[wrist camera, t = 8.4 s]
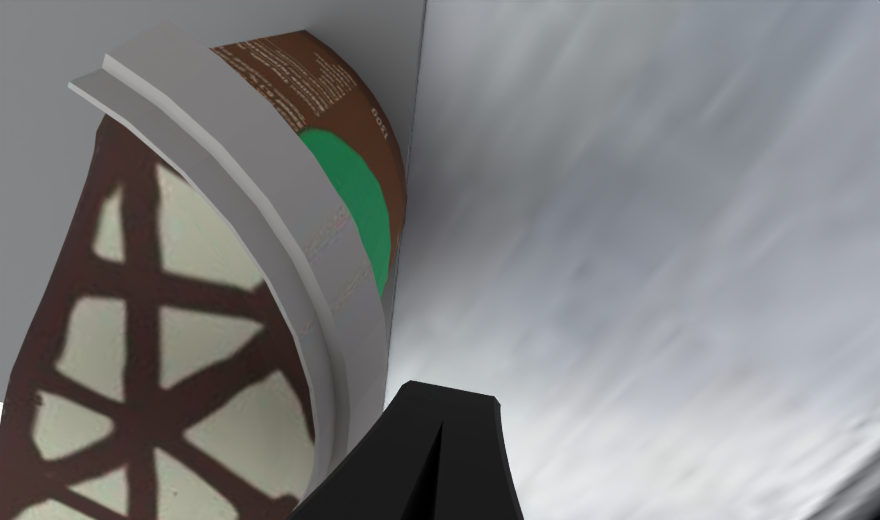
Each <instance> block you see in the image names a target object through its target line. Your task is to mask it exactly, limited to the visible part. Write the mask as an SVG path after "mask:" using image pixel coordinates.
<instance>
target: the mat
mask: <svg viewBox="0 0 880 520" xmlns="http://www.w3.org/2000/svg"><path fill="white" fill-rule="evenodd" d="M425 7H426V0H0V402H3V403H4V399H5V395H6V391H7V386H8V382H9V378H10V373H11V371H12V368H13V366H14V363H15V361H16V359H17V356H18V354H19V351H20V349H21V346H22V344H23V341H24V339H25V336H26V334H27V331H28V329H29V327H30V324H31V322H32V320H33V317H34V315H35V313H36V311H37V308H38V306H39V304H40V301H41V299H42V297H43V295H44V292H45V290H46V287H47V285H48V282H49V280H50V277H51V274H52V272H53V269H54V267H55V264H56V262H57V259H58V256H59V254H60V251H61V249H62V246H63V244H64V241H65V238H66V236H67V233H68V230H69V227H70V224H71V221H72V219H73V216H74V213H75V210H76V207H77V204H78V202H79V199H80V196H81V193H82V190H83V187H84V185H85V182H86V179H87V175H88V171H89V168H90V164H91V160H92V157H93V153H94V147H95V138H96V131H97V129H98V127H99V125H100V123H101V121H102V119H103V117H104V115H105V112H104V111H102V110H101V109H99V108H98V107H96V106H95V105H93V104H92V103H90V102H89V101H87V100H86V99H85V98H83V97H82V96H80V95H79V94H77V93H76V92H74V91H73V90H71V89H70V88H68V84H69V81H71V80H74V79H76V78H79V77H81V76H84V75H86V74H89V73H91V72H93V71H96V70H98V69H101V68H102V65H103V61H104V58H105V54H106V53H107V52H109V51H110V50H112V49H114V48H116V47H118V46H119V45H121V44H123V43H125V42H127V41H129V40H130V39H132V38H134V37H136V36H138V35H139V34H141V33H143V32H145V31H147V30H148V29H150V28H152V27H154V26H156V25H157V24H159V23H161V22H163V21H165V20H166V19H168V20H169V21H170V22H172V23H173V24H175V25H176V26H177V27H179V28H180V29H182V30H183V31H185V32H186V33H187V34H189V35H190V36H192V37H193V38H194V39H196V40H197V41H199V42H200V43H201V44H203V45H204V46H206V47H207V48H212V47H218V46H223V45H228V44H233V43H238V42H243V41H248V40H253V39H258V38H263V37H268V36H274V35H279V34H284V33H289V32H294V31H299V30H304V29H305V30H306V31H308V32H309V33H310V34H312V35H313V36H315V37H316V38H317V39H319V40H320V41H322V42H323V43H324V44H326V45H327V46H329V47H330V48H331V49H333V50H334V51H335V52H336V53H337V54H338V55H339V56H340V57H341V58H342V59H343V60H344V61H345V62H346V63H347V64H348V65H349V66H350V67H352V68H353V69H354V70H355V72H356V73H357V74H358V75H359V77H360V78H361V79H362V80H363V82H364V83H365V84H366V85H367V87H368V88H369V89H370V91H371V92H372V93H373V94H374V96H375V98H376V99H377V101H378V103H379V105H380V106H381V108H382V110H383V111H384V113H385V115H386V117H387V118H388V120H389V122H390V125H391V127H392V130H393V132H394V135H395V137H396V140H397V142H398V145H399V148H400V152H401V157H402V161H403V165H404V169H405V177H406V185H407V176H408V166H409V157H410V148H411V138H412V129H413V120H414V110H415V101H416V92H417V82H418V73H419V63H420V54H421V45H422V35H423V26H424V17H425ZM400 241H401V236H400V240H399V243H398V247H397V250H396V253H395V256H394V259H393V262H392V266H391V269H390V272H389V275H388V278H387V282H386V285H385V288H384V291H383V294H382V298H381V304H382V308H383V312H384V317H385V330H386V343H387V356H388V354H389V344H390V335H391V325H392V316H393V307H394V297H395V288H396V279H397V269H398V260H399V251H400ZM381 415H382V413H381Z"/></svg>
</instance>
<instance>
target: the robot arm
mask: <svg viewBox="0 0 880 520" xmlns="http://www.w3.org/2000/svg"><path fill="white" fill-rule="evenodd" d="M500 406H501V405H500V403H499V402H498V401H497V399H496V398H495V397H494V396H489V395H484V394H479V393H474V392H469V391H464V390H458V389H453V388H448V387H443V386H438V385H433V384H427V383H422V382H417V381H412V380H410V381H408V382H407V383H405V384H403V385H402V386H401V388H400V389H399V391H398V392H397V394H396V396H395V397H394V398H393V400H392V401H391V403H390V404H389V406H388V407H387V408H386V410H385V411H384V412H383V414H382V415H381V416H380V417H379V419H378V420H377V421H376V422H375V424H374V425H373V426H372V427H371V429H370V430H369V431H368V432H367V433H366V435H365V436H364V437H363V438H362V440H361V441H360V442H359V443H358V444H357V445H356V446H355V447H354V448H353V450H352V451H351V452H350V453H349V454H348V455H347V456H346V457H345V458H344V460H343V461H342V462H341V463H340V464H339V465H338V466H337V467H336V469H335V470H334V471H333V472H332V473H331V474H330V475H329V476H328V477H327V478H326V479H325V480H324V481H323V482H322V483H321V484H320V485H319V486H318V487H317V488H316V489H315V490H314V491H313V492H312V493H311V494H310V495H309V496H308V497H307V498H306V499H305V500H304V501H303V502H302V503H301V504H300V505H299V506H298V507H297V508H296V509H295V510H294V511H293V512H292V513H291V514H290V515H289V516H288V517H286V518H285V519H284V520H524V518H523V515H522V511H521V508H520V504H519V501H518V498H517V494H516V491H515V487H514V484H513V480H512V476H511V472H510V468H509V463H508V459H507V454H506V449H505V444H504V438H503V432H502V425H501V413H500Z"/></svg>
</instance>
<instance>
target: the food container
mask: <svg viewBox="0 0 880 520" xmlns="http://www.w3.org/2000/svg"><path fill="white" fill-rule="evenodd" d="M68 88H70V89H71V90H73V91H74V92H76V93H77V94H79V95H80V96H82V97H83V98H85V99H86V100H87V101H89V102H90V103H92V104H93V105H95V106H96V107H98V108H99V109H101V110H102V111H104V112H105V115H104V117H103V119H102V121H101V123H100V125H99V127H98V129H97V131H96V138H95V147H94V153H93V157H92V160H91V164H90V168H89V171H88V175H87V179H86V182H85V185H84V187H83V190H82V193H81V196H80V199H79V202H78V204H77V207H76V210H75V213H74V216H73V219H72V221H71V224H70V227H69V230H68V233H67V236H66V238H65V241H64V244H63V246H62V249H61V251H60V254H59V256H58V259H57V262H56V264H55V267H54V269H53V272H52V274H51V277H50V280H49V282H48V285H47V287H46V290H45V292H44V295H43V297H42V299H41V301H40V304H39V306H38V308H37V311H36V313H35V315H34V317H33V320H32V322H31V324H30V327H29V329H28V331H27V334H26V336H25V339H24V341H23V344H22V346H21V349H20V351H19V354H18V356H17V359H16V361H15V363H14V366H13V368H12V371H11V373H10V378H9V382H8V386H7V391H6V395H5V399H4V404H3V410H2V416H1V422H0V520H284V519H285V518H286V517H288V516H289V515H290V514H291V513H292V512H293V511H294V510H295V509H296V508H297V507H298V506H299V505H300V504H301V503H302V502H303V501H304V500H305V499H306V498H307V497H308V496H309V495H310V494H311V493H312V492H313V491H314V490H315V489H316V488H317V487H318V486H319V485H320V484H321V483H322V482H323V481H324V480H325V479H326V478H327V477H328V476H329V475H330V474H331V473H332V472H333V471H334V470H335V469H336V467H337V466H338V465H339V464H340V463H341V462H342V461H343V460H344V458H345V457H346V456H347V455H348V454H349V453H350V452H351V451H352V450H353V448H354V447H355V446H356V445H357V444H358V443H359V442H360V441H361V440H362V438H363V437H364V436H365V435H366V433H367V432H368V431H369V430H370V429H371V427H372V426H373V425H374V424H375V422H376V421H377V420H378V419H379V417H380V416H381V413H382V410H383V405H384V396H385V387H386V378H387V369H388V356H387V343H386V330H385V317H384V312H383V308H382V304H381V298H382V294H383V291H384V288H385V285H386V282H387V278H388V275H389V272H390V269H391V266H392V262H393V259H394V256H395V253H396V250H397V247H398V243H399V240H400V236H401V233H402V229H403V226H404V222H405V213H406V203H407V191H406V177H405V169H404V165H403V161H402V157H401V152H400V148H399V145H398V142H397V140H396V137H395V135H394V132H393V130H392V127H391V125H390V122H389V120H388V118H387V117H386V115H385V113H384V111H383V110H382V108H381V106H380V105H379V103H378V101H377V99H376V98H375V96H374V94H373V93H372V92H371V91H370V89H369V88H368V87H367V85H366V84H365V83H364V82H363V80H362V79H361V78H360V77H359V75H358V74H357V73H356V72H355V70H354V69H353V68H352V67H350V66H349V65H348V64H347V63H346V62H345V61H344V60H343V59H342V58H341V57H340V56H339V55H338V54H337V53H336V52H335V51H334V50H333V49H331V48H330V47H329V46H327V45H326V44H324V43H323V42H322V41H320V40H319V39H317V38H316V37H315V36H313V35H312V34H310V33H309V32H308V31H306V30H305V29H304V30H299V31H294V32H289V33H284V34H279V35H274V36H268V37H263V38H258V39H253V40H248V41H243V42H238V43H233V44H228V45H223V46H218V47H212V48H207V47H206V46H204V45H203V44H201V43H200V42H199V41H197V40H196V39H194V38H193V37H192V36H190V35H189V34H187V33H186V32H185V31H183V30H182V29H180V28H179V27H177V26H176V25H175V24H173V23H172V22H170V21H169V20H168V19H166V20H165V21H163V22H161V23H159V24H157V25H156V26H154V27H152V28H150V29H148V30H147V31H145V32H143V33H141V34H139V35H138V36H136V37H134V38H132V39H130V40H129V41H127V42H125V43H123V44H121V45H119V46H118V47H116V48H114V49H112V50H110V51H109V52H107V53H106V54H105V58H104V61H103V65H102V68H101V69H98V70H96V71H93V72H91V73H89V74H86V75H84V76H81V77H79V78H76V79H74V80H71V81H69V84H68Z"/></svg>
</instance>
